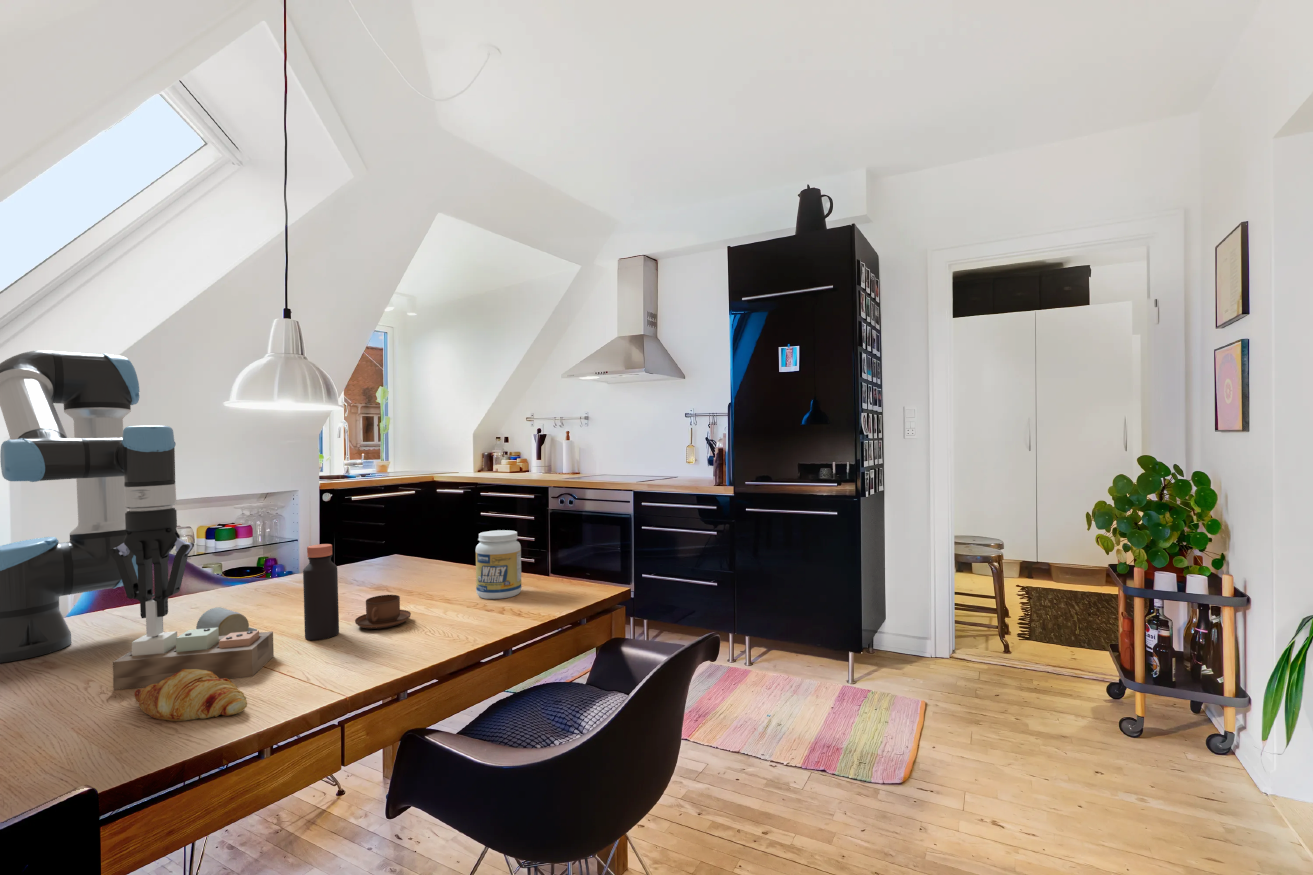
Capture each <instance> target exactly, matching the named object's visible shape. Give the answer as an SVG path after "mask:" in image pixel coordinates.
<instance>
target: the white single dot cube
mask: <svg viewBox="0 0 1313 875" xmlns="http://www.w3.org/2000/svg"><path fill="white" fill-rule="evenodd" d="M177 637H178V631H164V632H163V633H161V634H159V635H157V636H153V637H147V634H144V635H142V636H140V637H139V638H137V639H135V640H133V641H131V651H132V656H138V655H149V654H160V653H166V652H168V651H169V650H171V649H172V648H174V647H175V646H176V638H177Z"/></svg>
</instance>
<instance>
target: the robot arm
mask: <svg viewBox="0 0 1313 875" xmlns="http://www.w3.org/2000/svg"><path fill="white" fill-rule="evenodd" d="M139 400H140V383H139V379H138V375H137V372H136V369H135V366H134V365H133V363H132V362H131V361H130V359H128V358H127V357H125V356H123V355H117V354H115V355H114V354H109V353H105V352H104V353H103V352H102V353H93V352H78V351H77V352H76V351H75V352H73V351H58V350H57V351H55V350H44V349H43V350H31V351H26V352H22V353H18V354H16V355H13V356H11V357H9V358H6V359H5V360H4V361H2V362H0V410H1V414H2V417H3V420H4V422H5V425H6V430H7V433H8V436H9V438H10V439H7V440H5V441H3V442H2V444H1V446H0V468H1V476H2V478H3V479H4V480H6V481H8V482H30V483H36V482H42V481H60V480H73V479H75V480H76V500H77V502H76V503H77V523H78V524H77V526H76V527H75V528H74V529H72V530H71V531H70V532H69V541H64V542H59V539H58V538H57V537H56V536H44V537H40V538H39V537H37V538H32V539H25V540H20V541H15V542H11V543H10V542H9V543H6V544H2V545H0V664H1V663H9V662H16V661H21V660H26V659H30V658H35V657H40V656H43V655H47V654H50V653H53V652H57V651H59V650H62V649H64V648H66V647H68V646H70V645H71V644H72V633H71V630H70V628H69V626H68V624H67V622H66V620H65V618H64V615H63V613H62V612H61V610H60V597H62V596H70V595H77V594H82V593H90V592H95V591H101V590H102V591H103V590H109V589H116V588H120V587H123V588H124V591H125V594H126V597H127V599H129V600H133V599H134V600H137V601H139V609H140V612H139V613H140V617H141V619H145V627H146V630H145V632H146V634H147V637H153V636H157V635H159V634H161V633H163V632H165V630H164V617H165V616H167V615H168V613H169V597H171V596H173V595H175V594H177V593H179V592H180V591H181V586H182V583H183V578H184V574H185V570H186V566H187V562H188V557H189V555H190V553H191V551H192V550H193V549H194V547H195V544H194V542H192V541H191V542H187V541H185V540H183V539H181V537H180V536H181V535H180V534H179V532H178V530H177V528H178V520H177V519H178V516H177V515H178V512H177V509H176V507H173V506H175V505H176V504H177V491H176V489H177V488H176V486H177V485H176V454H175V453H176V451H175V447H176V441H175V435H174V429H173V428H172V427H171V426H168V425H130V426H129V425H128V426H126V427H124V419H125V417H127V415H129V414H130V413H131V411H132V410H131V409H132V407H131V406H134V405H137V404H138V403H139ZM54 404H62V405H63V413H64V414H66V415H68V416H69V417H70V418H71V419H72V420H73V432H74V433H73V435H74V437H73V438H71V437H69V438H68V436H67V433H66V431H65V429H64V427H63V426H64V425H63V424H62V420H61V419H60V416H59V414H58V412H57V410H56V407H55V405H54ZM128 509H129V510H128ZM174 548H175V549H174ZM173 549H174V550H175V552H176V553H175V554H174V559H173V562H172V567H171V569H170V574H169V560H170V553H171V552H172V551H173ZM153 579H154V580H153ZM153 581H154V582H153ZM146 634H145V635H146Z"/></svg>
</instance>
